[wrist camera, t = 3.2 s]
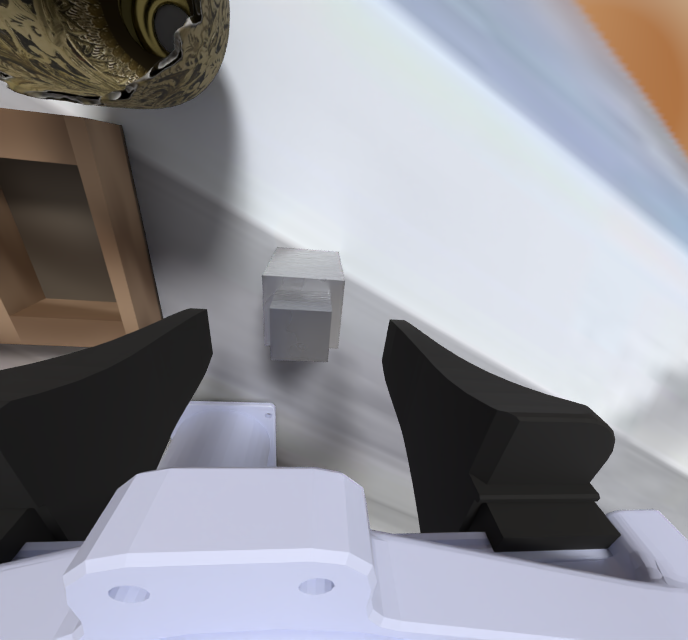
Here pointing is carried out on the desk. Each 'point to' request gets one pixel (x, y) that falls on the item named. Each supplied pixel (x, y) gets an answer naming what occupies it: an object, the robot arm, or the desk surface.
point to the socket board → (70, 234)
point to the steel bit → (302, 304)
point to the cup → (110, 51)
